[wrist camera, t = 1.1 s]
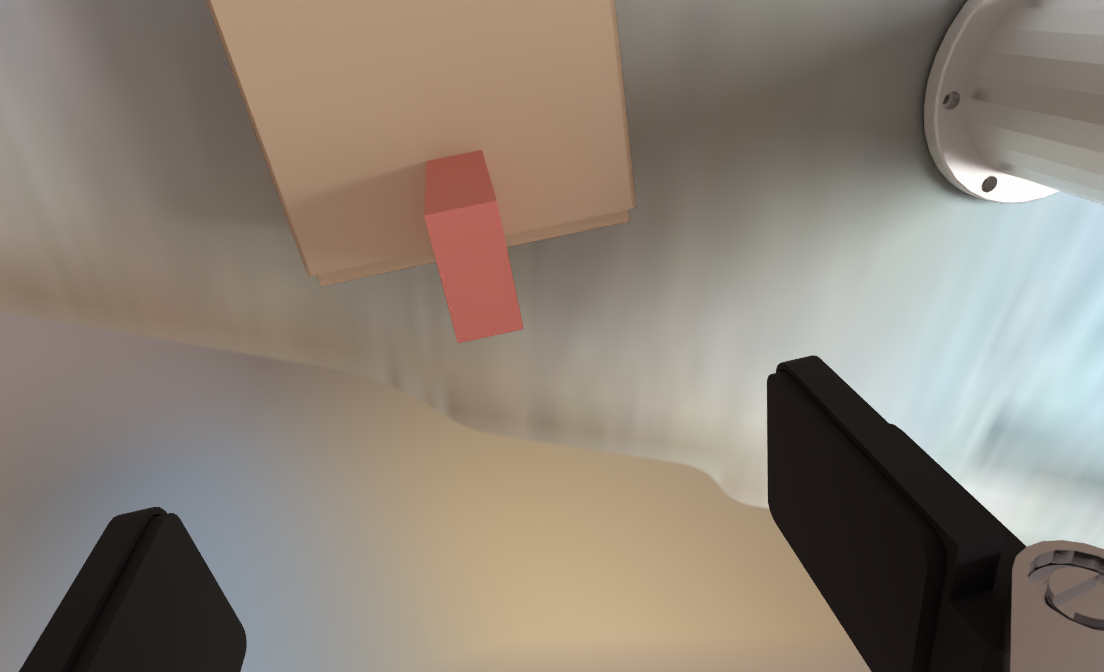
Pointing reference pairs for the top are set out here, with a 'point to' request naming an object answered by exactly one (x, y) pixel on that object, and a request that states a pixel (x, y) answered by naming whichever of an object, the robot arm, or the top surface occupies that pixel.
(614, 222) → the carton
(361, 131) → the taped cardboard box
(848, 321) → the top surface
